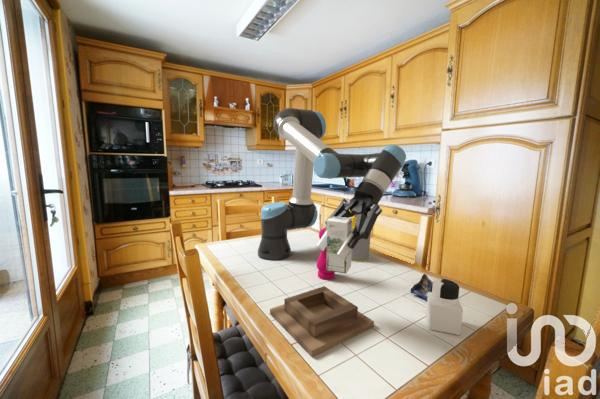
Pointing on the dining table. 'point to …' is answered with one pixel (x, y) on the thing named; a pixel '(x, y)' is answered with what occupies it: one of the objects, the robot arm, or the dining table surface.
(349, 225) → the syrup box
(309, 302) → the walnut holder
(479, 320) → the dining table surface
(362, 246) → the soap bottle
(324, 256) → the pepper mill
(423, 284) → the snack package
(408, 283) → the dining table surface
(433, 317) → the white bottle
